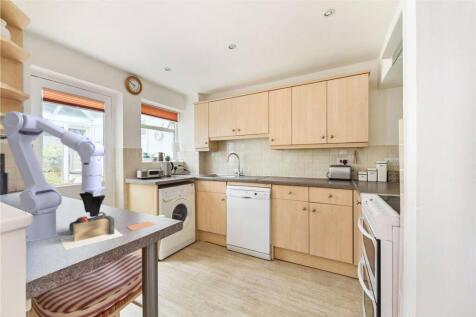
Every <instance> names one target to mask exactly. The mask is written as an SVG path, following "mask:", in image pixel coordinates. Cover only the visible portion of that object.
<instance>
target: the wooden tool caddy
mask: <svg viewBox="0 0 476 317" xmlns="http://www.w3.org/2000/svg"><path fill="white" fill-rule="evenodd" d="M114 228H115V218H114V217H112V216H111V215H106V219H100V220H95V221H90V222H84V223H79V224H73V233H72V236H73V240H74V241H75V242H76V241H80V240H84V239H89V238H93V237H97V236H101V235H106V234H110V235H111V234H114Z"/></svg>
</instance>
